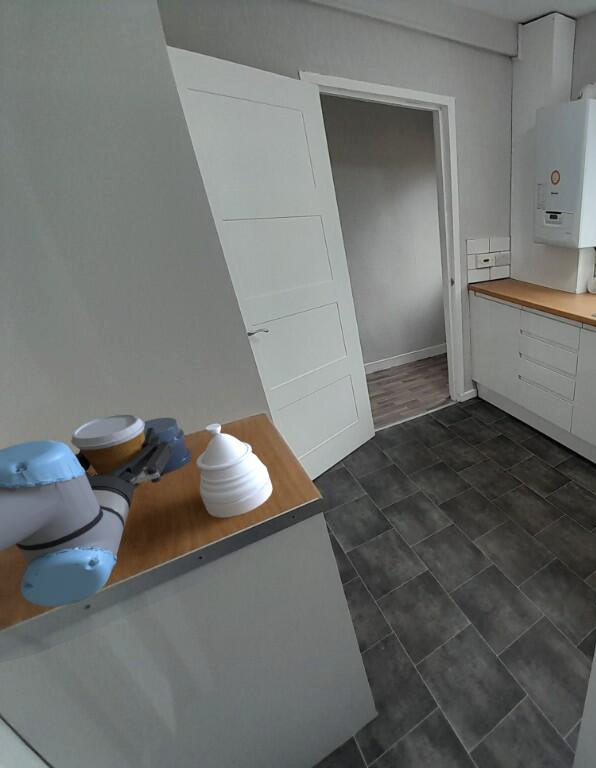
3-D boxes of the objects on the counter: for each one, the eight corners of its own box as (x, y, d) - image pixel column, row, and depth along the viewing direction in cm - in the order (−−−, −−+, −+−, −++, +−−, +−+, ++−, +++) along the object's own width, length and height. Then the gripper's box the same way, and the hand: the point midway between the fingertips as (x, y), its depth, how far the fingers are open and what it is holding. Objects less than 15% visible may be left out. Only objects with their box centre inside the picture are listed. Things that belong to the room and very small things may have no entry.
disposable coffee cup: (83, 490, 73) (54, 433, 68) (143, 461, 82) (121, 408, 77) (117, 503, 71) (89, 444, 66) (175, 472, 79) (154, 418, 74)
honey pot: (196, 501, 91) (168, 433, 83) (255, 472, 101) (235, 408, 93) (222, 526, 85) (194, 454, 77) (283, 492, 94) (264, 426, 86)
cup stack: (132, 479, 98) (115, 440, 93) (152, 456, 107) (137, 419, 102) (183, 472, 101) (169, 433, 96) (198, 450, 110) (186, 414, 106)
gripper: (2, 559, 56) (53, 473, 73) (190, 505, 67) (196, 441, 84) (-26, 516, 53) (34, 438, 70) (176, 467, 64) (185, 409, 81)
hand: (122, 440), depth 77 cm, fingers closed on disposable coffee cup, 8 cm apart
